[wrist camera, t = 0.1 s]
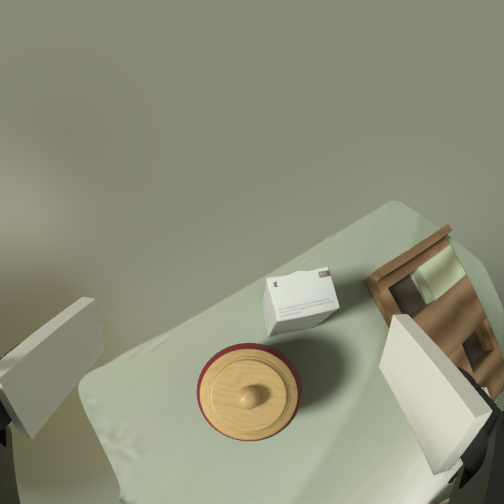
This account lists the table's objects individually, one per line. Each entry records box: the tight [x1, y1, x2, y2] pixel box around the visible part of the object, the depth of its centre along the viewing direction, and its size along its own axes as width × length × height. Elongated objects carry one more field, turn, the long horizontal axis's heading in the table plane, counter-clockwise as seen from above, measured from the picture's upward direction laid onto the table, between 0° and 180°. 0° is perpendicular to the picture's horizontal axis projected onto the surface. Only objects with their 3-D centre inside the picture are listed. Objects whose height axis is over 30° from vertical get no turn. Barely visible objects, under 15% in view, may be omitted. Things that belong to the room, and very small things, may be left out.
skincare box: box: [262, 266, 339, 336], centre depth 40 cm, size 8×6×15 cm
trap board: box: [364, 225, 504, 402], centre depth 41 cm, size 38×20×7 cm, turn 26°
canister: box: [197, 343, 302, 441], centre depth 35 cm, size 13×13×18 cm
